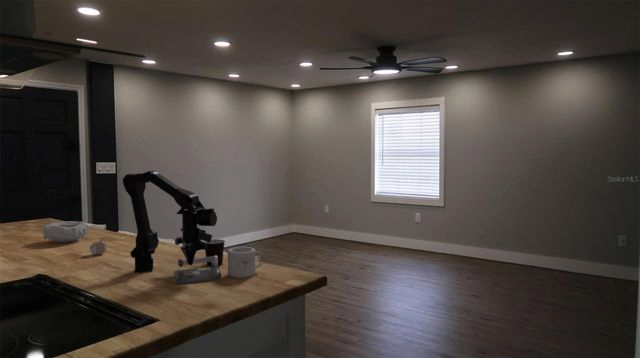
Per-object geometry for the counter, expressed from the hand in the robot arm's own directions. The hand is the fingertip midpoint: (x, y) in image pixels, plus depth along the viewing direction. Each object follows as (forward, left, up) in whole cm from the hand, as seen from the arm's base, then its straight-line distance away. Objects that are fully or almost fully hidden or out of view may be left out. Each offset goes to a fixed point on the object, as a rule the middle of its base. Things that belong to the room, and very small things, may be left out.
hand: (190, 265), depth 173 cm
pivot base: (+10, +4, -4) cm, 11 cm away
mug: (+20, -7, -4) cm, 22 cm away
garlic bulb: (-36, +50, -4) cm, 62 cm away
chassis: (+2, -5, -4) cm, 7 cm away
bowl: (-54, +88, -4) cm, 103 cm away
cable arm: (+3, +3, -3) cm, 5 cm away
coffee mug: (+12, +13, -4) cm, 18 cm away
